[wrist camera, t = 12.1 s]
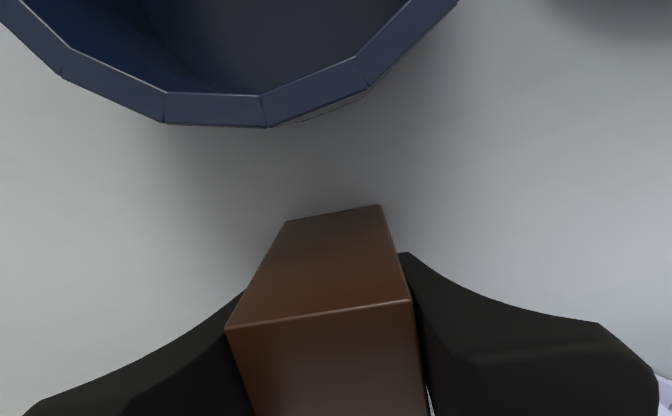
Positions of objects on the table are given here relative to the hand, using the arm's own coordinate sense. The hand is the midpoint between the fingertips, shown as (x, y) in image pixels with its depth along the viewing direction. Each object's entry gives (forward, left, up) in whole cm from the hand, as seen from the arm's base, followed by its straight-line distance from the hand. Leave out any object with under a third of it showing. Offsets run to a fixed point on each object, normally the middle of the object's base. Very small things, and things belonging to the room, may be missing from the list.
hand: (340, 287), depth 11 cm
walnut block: (0, 0, -3) cm, 3 cm away
